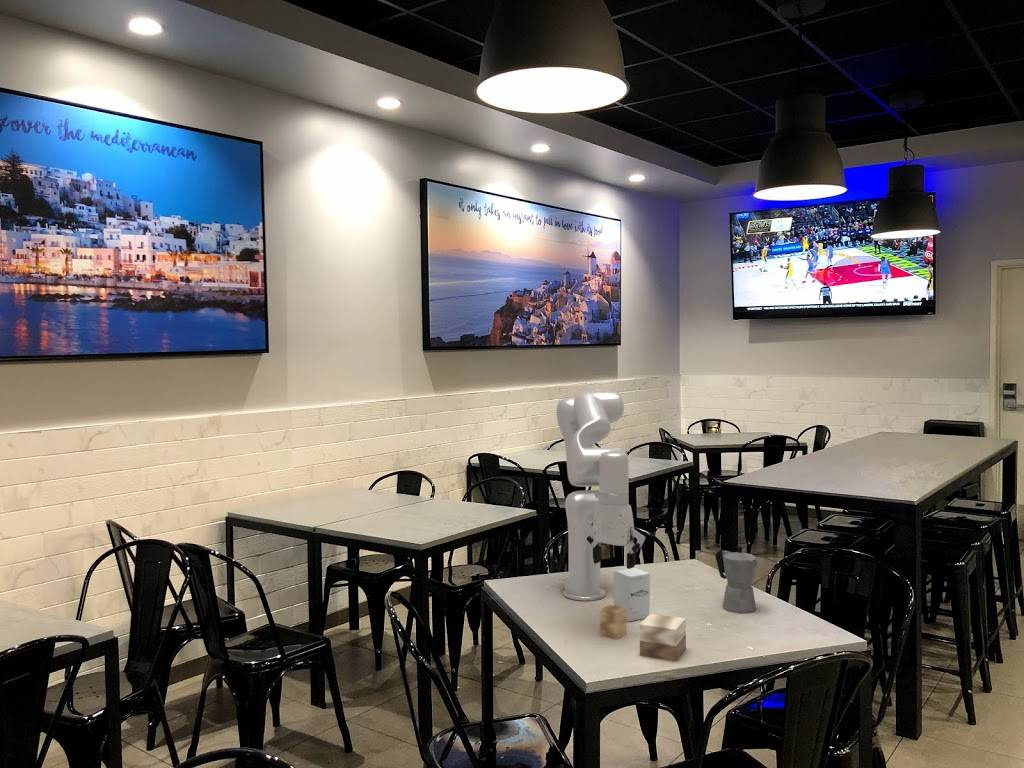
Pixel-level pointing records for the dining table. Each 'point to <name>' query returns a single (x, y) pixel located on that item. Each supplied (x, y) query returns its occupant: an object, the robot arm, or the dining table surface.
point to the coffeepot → (738, 580)
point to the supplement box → (632, 592)
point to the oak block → (613, 621)
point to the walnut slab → (663, 650)
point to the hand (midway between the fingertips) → (613, 565)
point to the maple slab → (662, 629)
